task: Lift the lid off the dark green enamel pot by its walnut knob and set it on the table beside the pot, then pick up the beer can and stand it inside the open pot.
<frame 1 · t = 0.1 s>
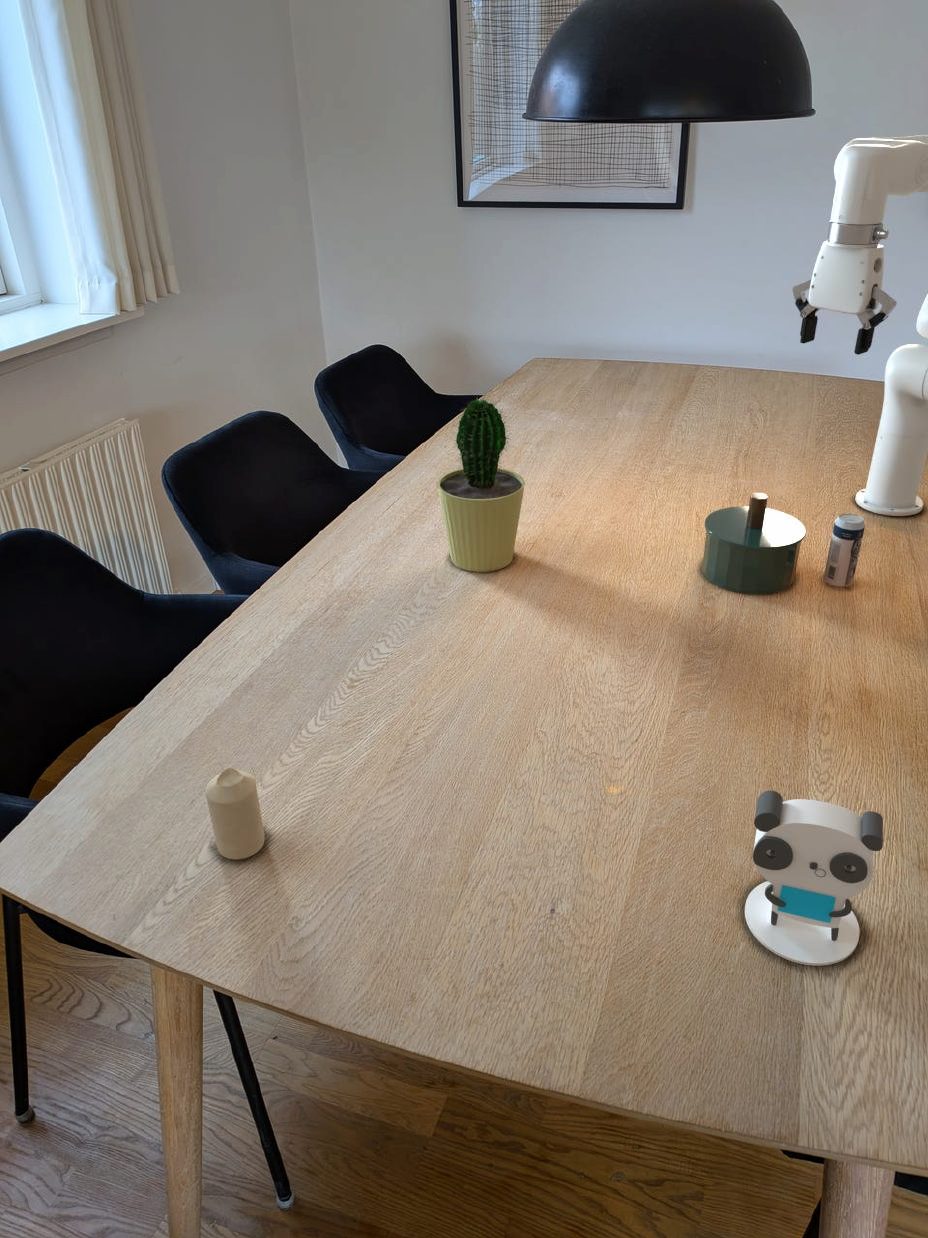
hand: (833, 347, 153), 37 cm above the table, tool pointing down, fingers open, 9 cm apart
pot: (747, 572, 165), on the table
candle: (241, 844, 110), on the table
panda figurine: (797, 921, 98), on the table
lid: (754, 528, 161), point 8 cm above the table, touching pot
beer can: (837, 583, 162), on the table
potted cactus: (481, 558, 172), on the table
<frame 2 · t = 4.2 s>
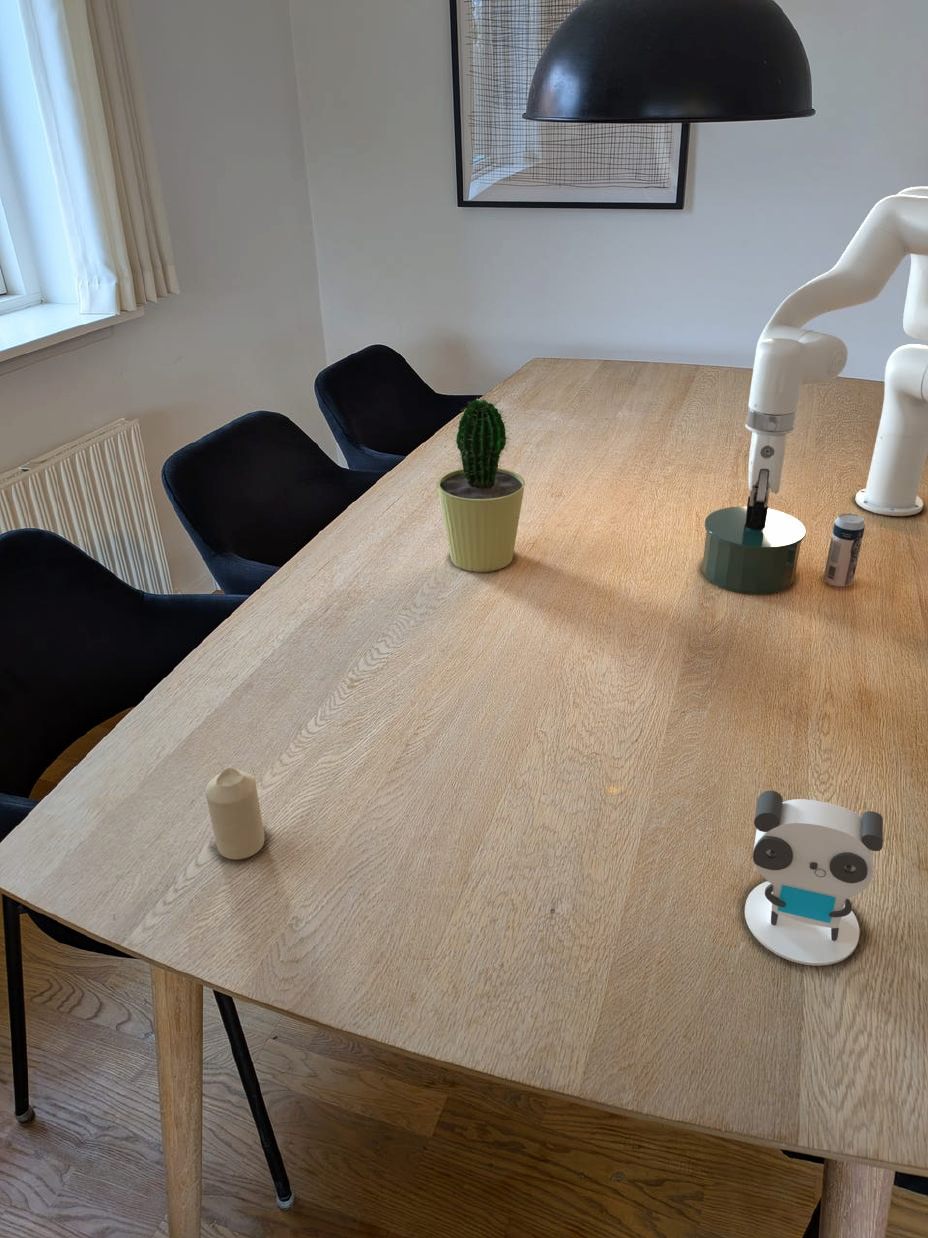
hand: (755, 522, 160), 10 cm above the table, tool pointing down, fingers closed on lid, 2 cm apart
lid: (754, 528, 161), point 9 cm above the table, touching gripper, pot
everything else where it was.
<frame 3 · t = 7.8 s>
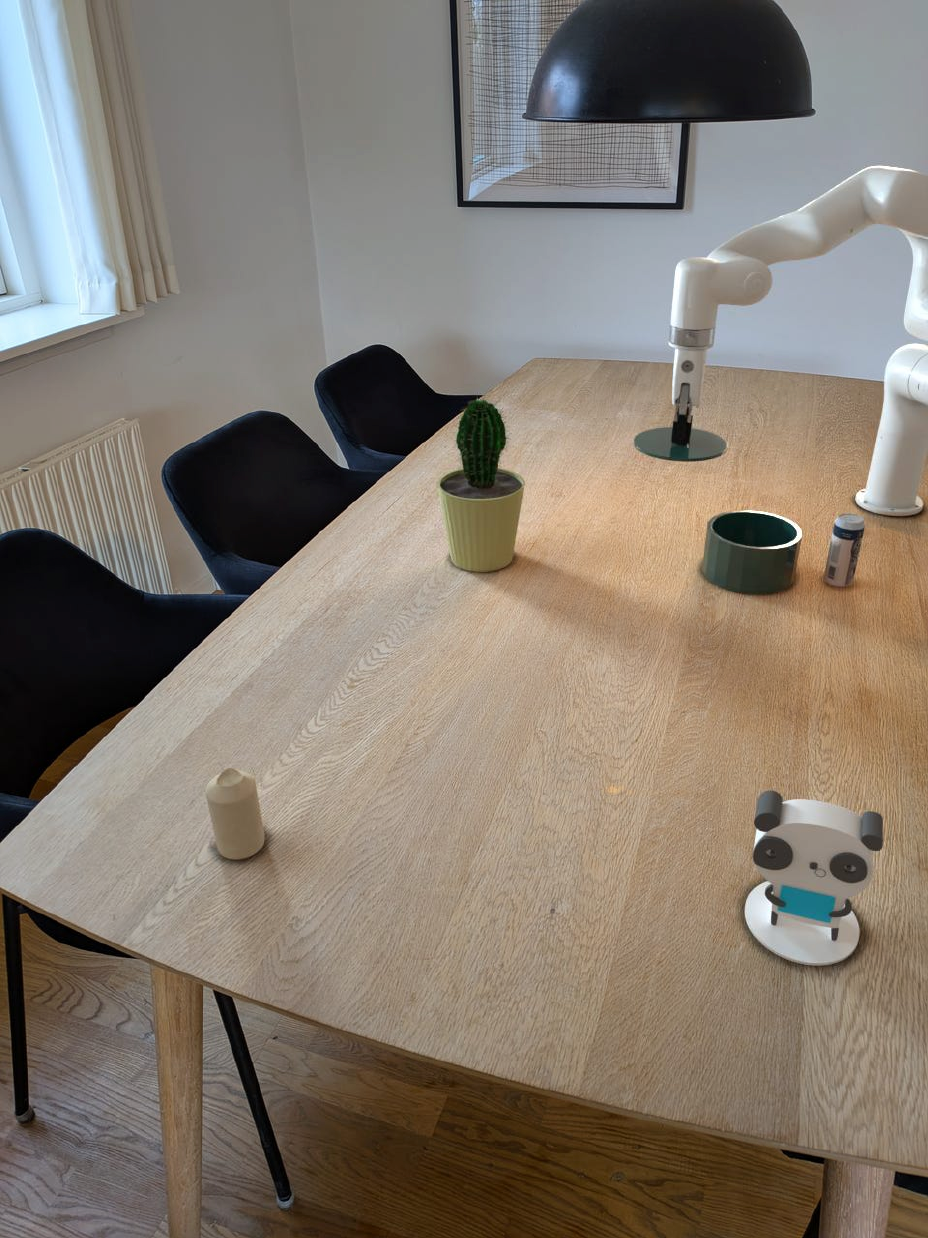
hand: (680, 438, 169), 19 cm above the table, tool pointing down, fingers closed on lid, 2 cm apart
lid: (680, 445, 170), point 18 cm above the table, touching gripper
everything else where it was.
when the fingers open (2 cm above the table, at t = 11.8 s): lid stays where it is, point 1 cm above the table.
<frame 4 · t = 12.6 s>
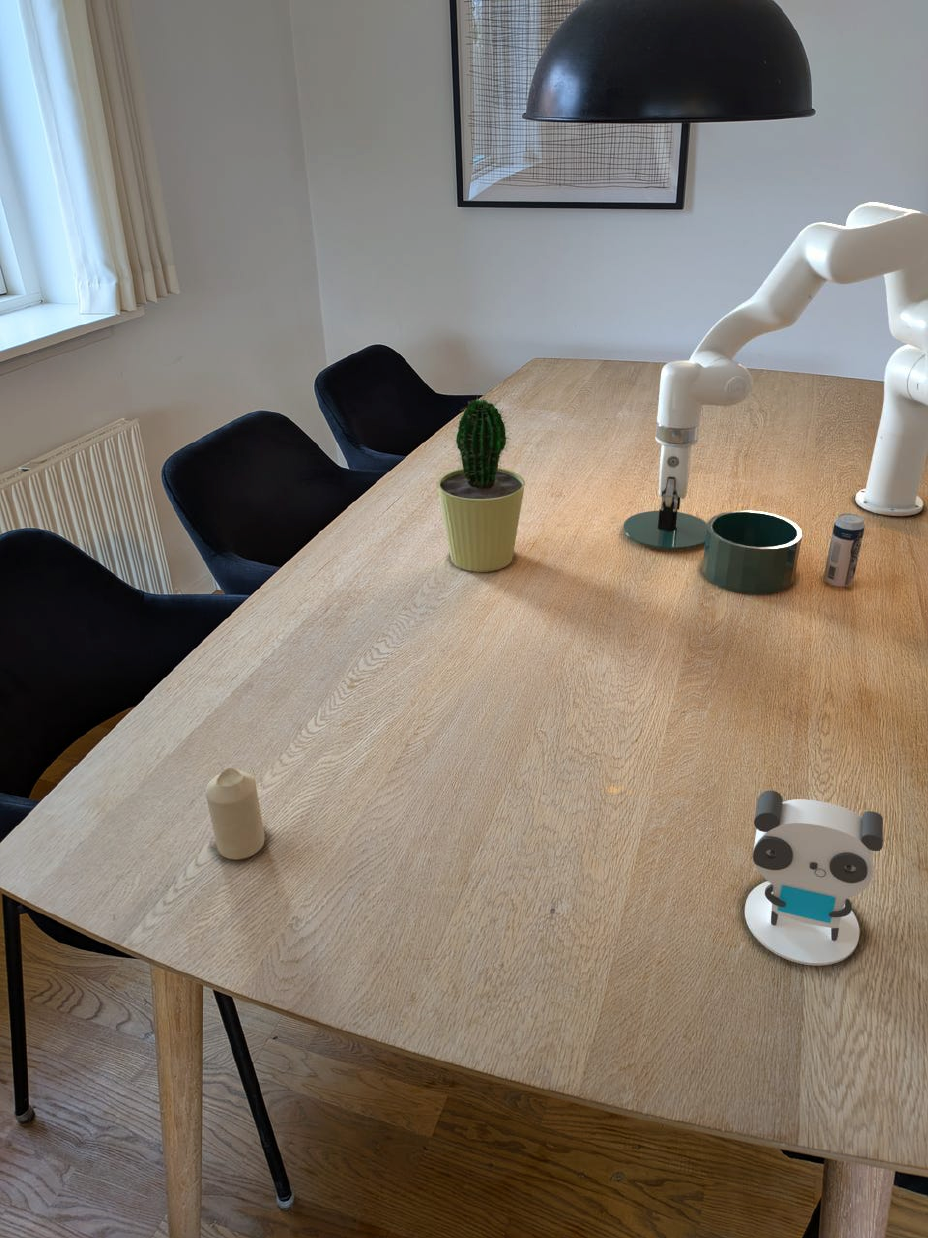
hand: (668, 519, 178), 3 cm above the table, tool pointing down, fingers open, 9 cm apart
lid: (667, 530, 179), point 1 cm above the table
everything else where it was.
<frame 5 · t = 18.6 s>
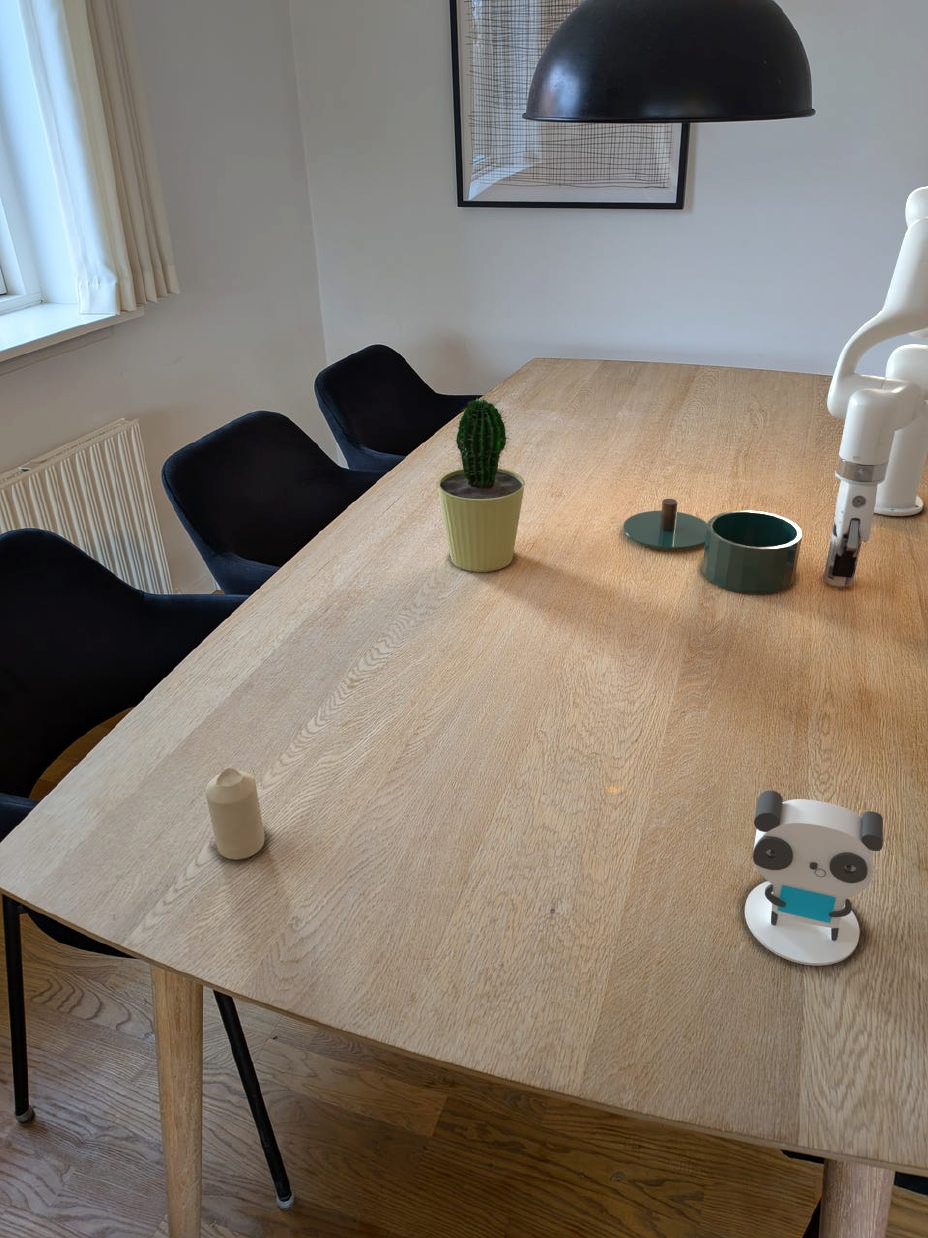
hand: (840, 567, 160), 3 cm above the table, tool pointing down, fingers closed on beer can, 4 cm apart
beer can: (837, 583, 162), on the table, touching gripper
everything else where it was.
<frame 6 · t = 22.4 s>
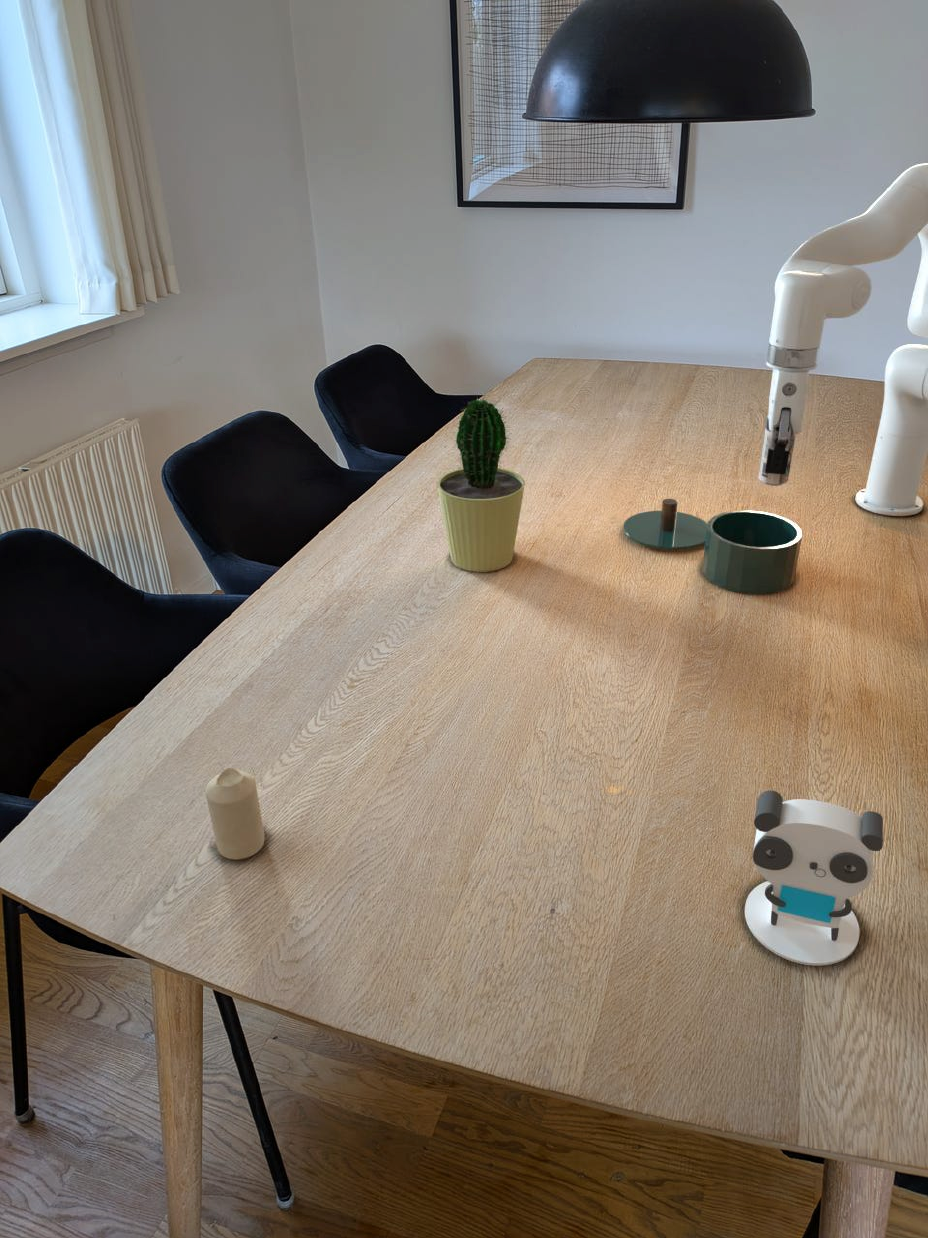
hand: (775, 465, 155), 20 cm above the table, tool pointing down, fingers closed on beer can, 4 cm apart
beer can: (772, 482, 156), point 17 cm above the table, touching gripper
everything else where it was.
when the fingers open (3 cm above the table, at t = 26.6 s): beer can stays where it is, resting on pot.
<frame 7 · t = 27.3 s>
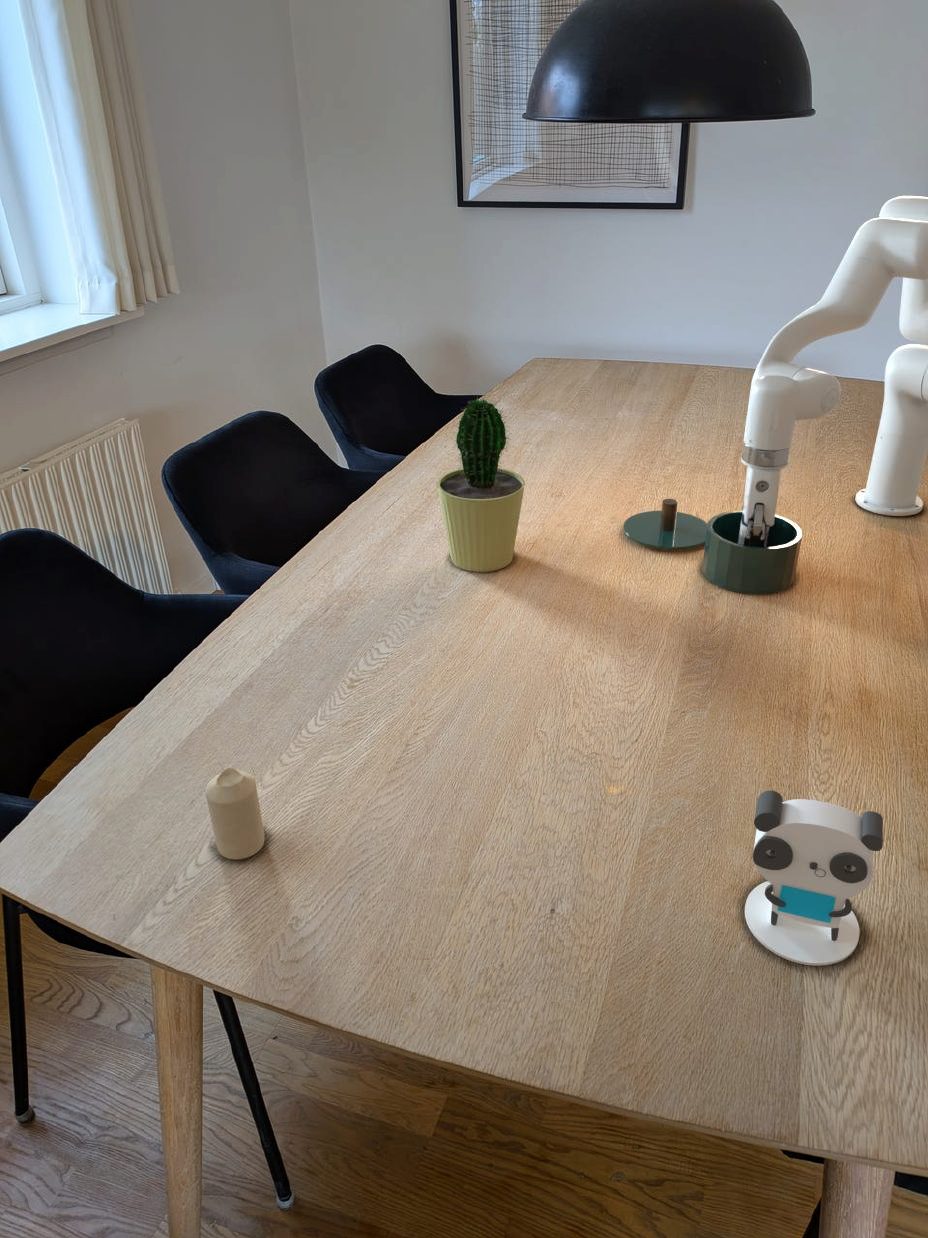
hand: (751, 547, 163), 5 cm above the table, tool pointing down, fingers open, 9 cm apart
beer can: (747, 571, 165), resting on pot
everything else where it was.
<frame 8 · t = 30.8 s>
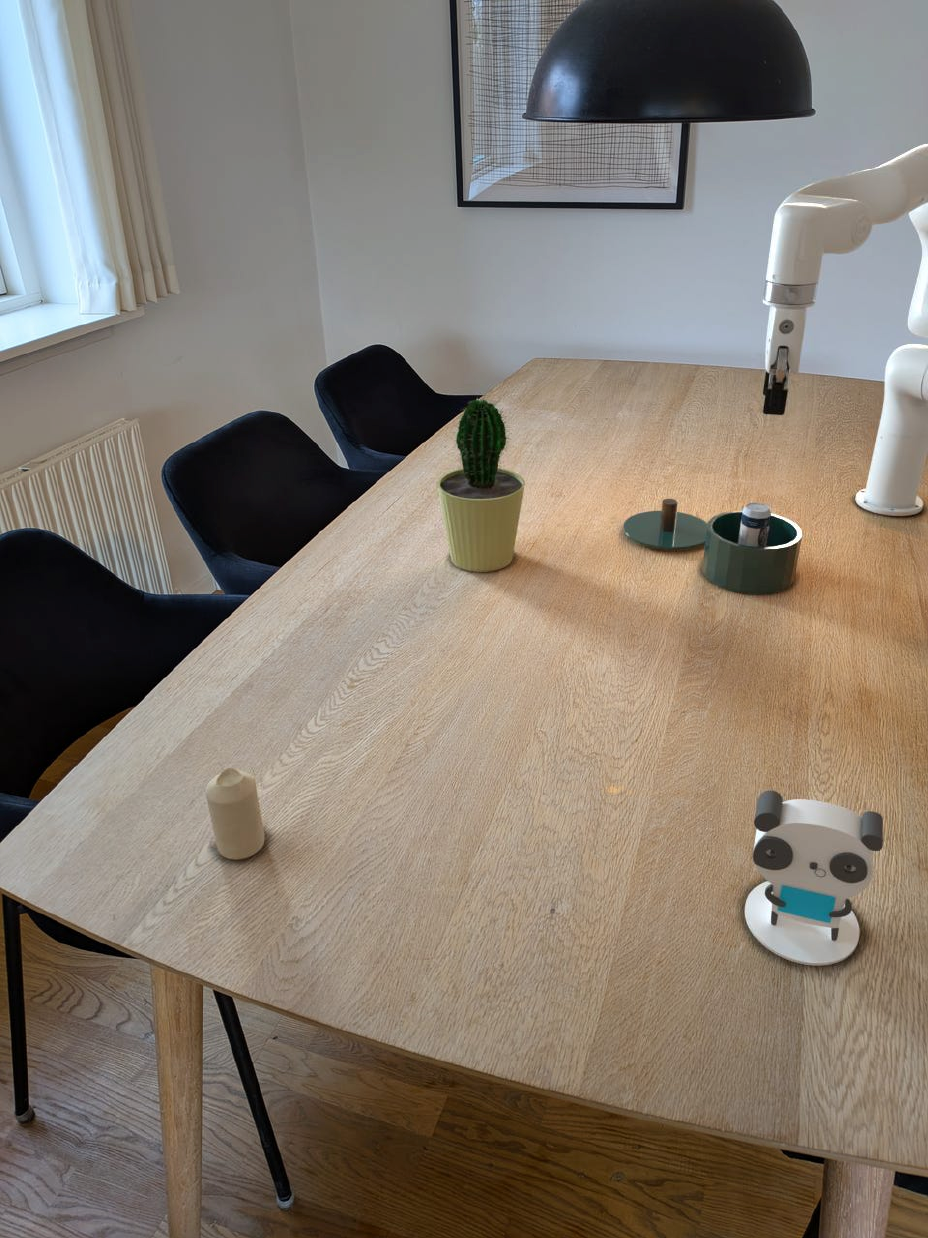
hand: (773, 404, 150), 30 cm above the table, tool pointing down, fingers open, 9 cm apart
nothing on the table moved.
at the end: lid inside the target area (0.0 cm from its centre), point 0.6 cm above the table; beer can inside the target area in the pot (0.1 cm from its centre), point 0.3 cm above the pot's base; beer can tilted 0° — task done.
